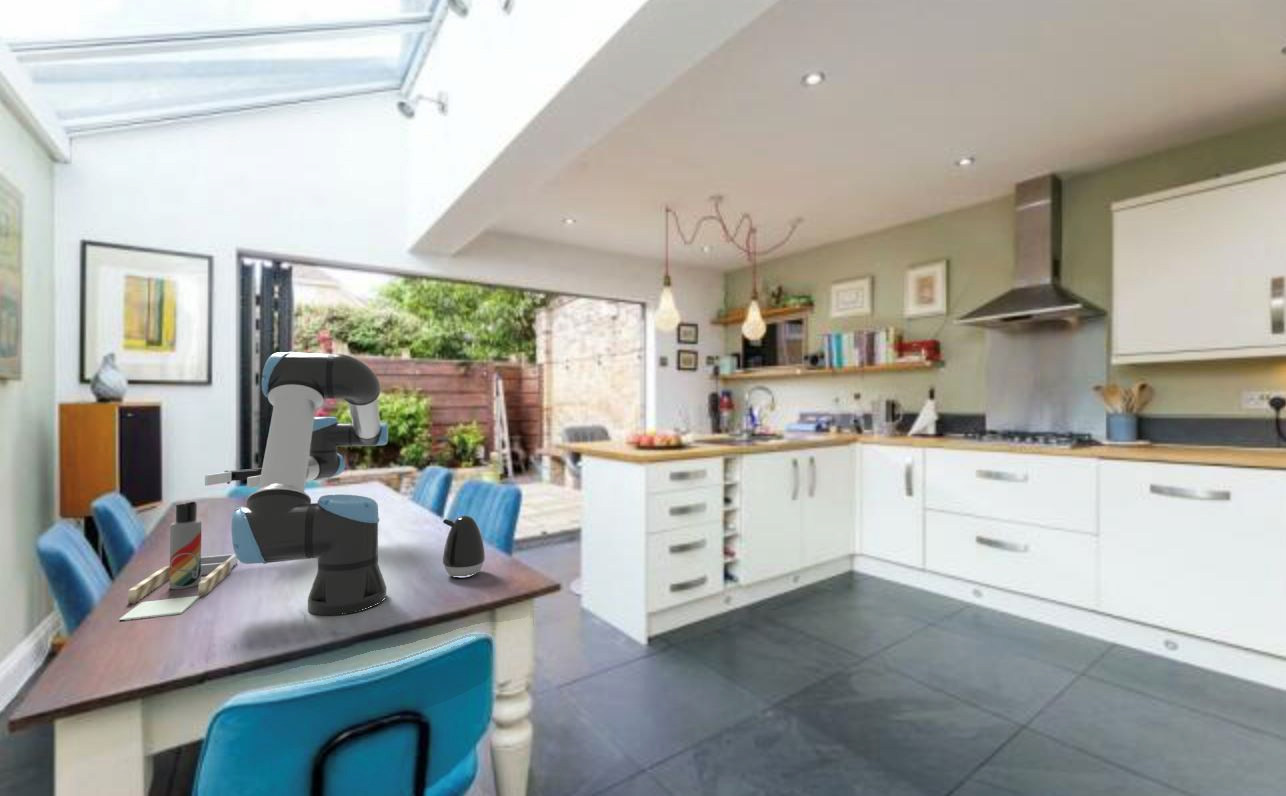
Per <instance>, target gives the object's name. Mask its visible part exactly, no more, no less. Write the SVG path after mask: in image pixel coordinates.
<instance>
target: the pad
mask: <svg viewBox="0 0 1286 796" xmlns="http://www.w3.org/2000/svg"><path fill="white" fill-rule="evenodd" d="M200 597H201V596H198V595H193V596H186V597H175V598H167V599H158V600H157V599H156V600H148V601H142V602H140V603H139V604H138V605H136V606H135V607H134V608H132V609H131V610H129V611H128V612H126V613H125V614H124V615H122V616H121V617H120V618H118V621H119V620H125V621H132V620H131V619H133V620H139V619H140V620H141V618H142V619H149V617H150V618H157V617H158V618H159V617H165V616H173V615H181V614H183V613H184V612H186V611H187V610H188V609H189V607H191V606H193V605H194V603H196V601H197V600H199V599H200Z"/></svg>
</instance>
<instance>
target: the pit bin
mask: <svg viewBox="0 0 1286 796" xmlns="http://www.w3.org/2000/svg"><path fill="white" fill-rule="evenodd" d="M224 561H230V570H232V569H233V566H234V565H235V566H236V565H237V564H238V558H237V557H236V555H235V553H232V554H220V555H211V556H201V576H208V575H209V574H210V573H211V572H212V571H214V570H215V569H216V568H217V567H218V566H219V565H221V564H222V563H223V562H224ZM235 566H234V567H235Z"/></svg>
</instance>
